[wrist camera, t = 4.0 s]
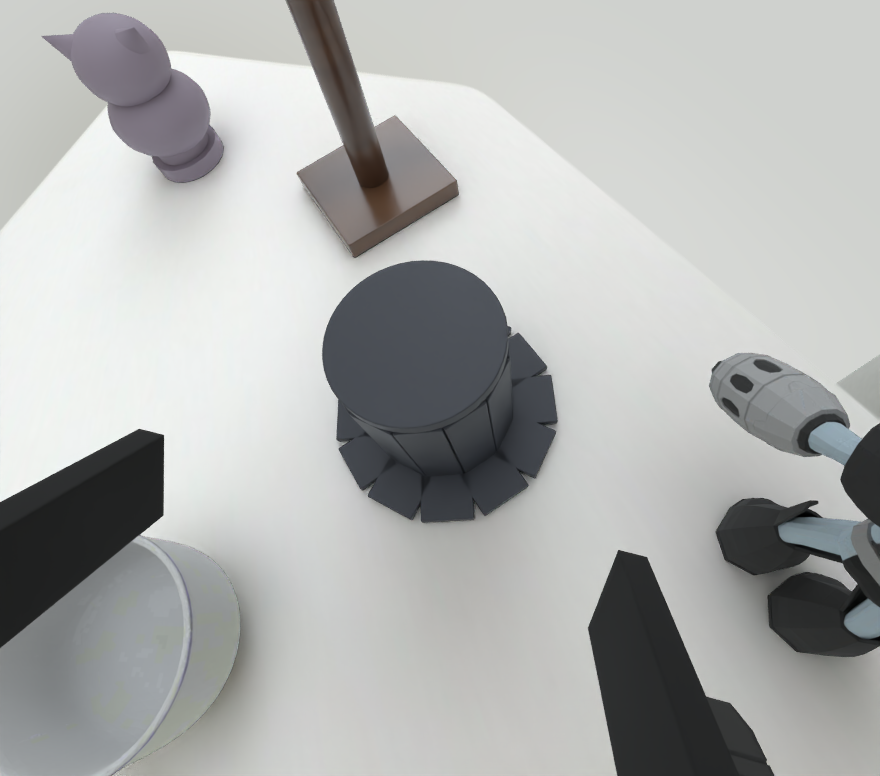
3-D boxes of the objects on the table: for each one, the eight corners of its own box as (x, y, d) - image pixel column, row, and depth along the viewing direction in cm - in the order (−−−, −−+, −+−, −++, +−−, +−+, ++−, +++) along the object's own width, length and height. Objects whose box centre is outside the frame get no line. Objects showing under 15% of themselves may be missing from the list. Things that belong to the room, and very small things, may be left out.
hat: (602, 435, 29) (639, 367, 20) (406, 569, 28) (351, 559, 19) (473, 282, 35) (456, 175, 26) (306, 387, 34) (227, 314, 25)
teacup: (165, 517, 32) (60, 495, 25) (300, 585, 29) (224, 584, 22) (32, 746, 28) (-143, 802, 20) (172, 854, 25) (25, 965, 17)
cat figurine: (243, 123, 47) (158, -20, 36) (223, 184, 44) (124, 49, 33) (165, 131, 48) (61, -4, 37) (141, 190, 45) (20, 63, 34)
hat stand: (459, 194, 39) (387, -259, 18) (354, 258, 38) (153, -141, 17) (399, 129, 43) (283, -302, 22) (303, 185, 42) (89, -208, 21)
